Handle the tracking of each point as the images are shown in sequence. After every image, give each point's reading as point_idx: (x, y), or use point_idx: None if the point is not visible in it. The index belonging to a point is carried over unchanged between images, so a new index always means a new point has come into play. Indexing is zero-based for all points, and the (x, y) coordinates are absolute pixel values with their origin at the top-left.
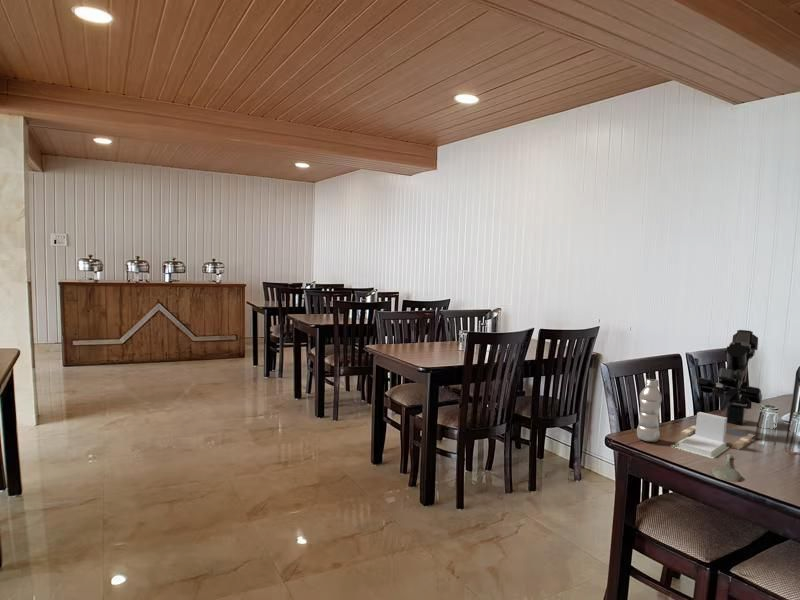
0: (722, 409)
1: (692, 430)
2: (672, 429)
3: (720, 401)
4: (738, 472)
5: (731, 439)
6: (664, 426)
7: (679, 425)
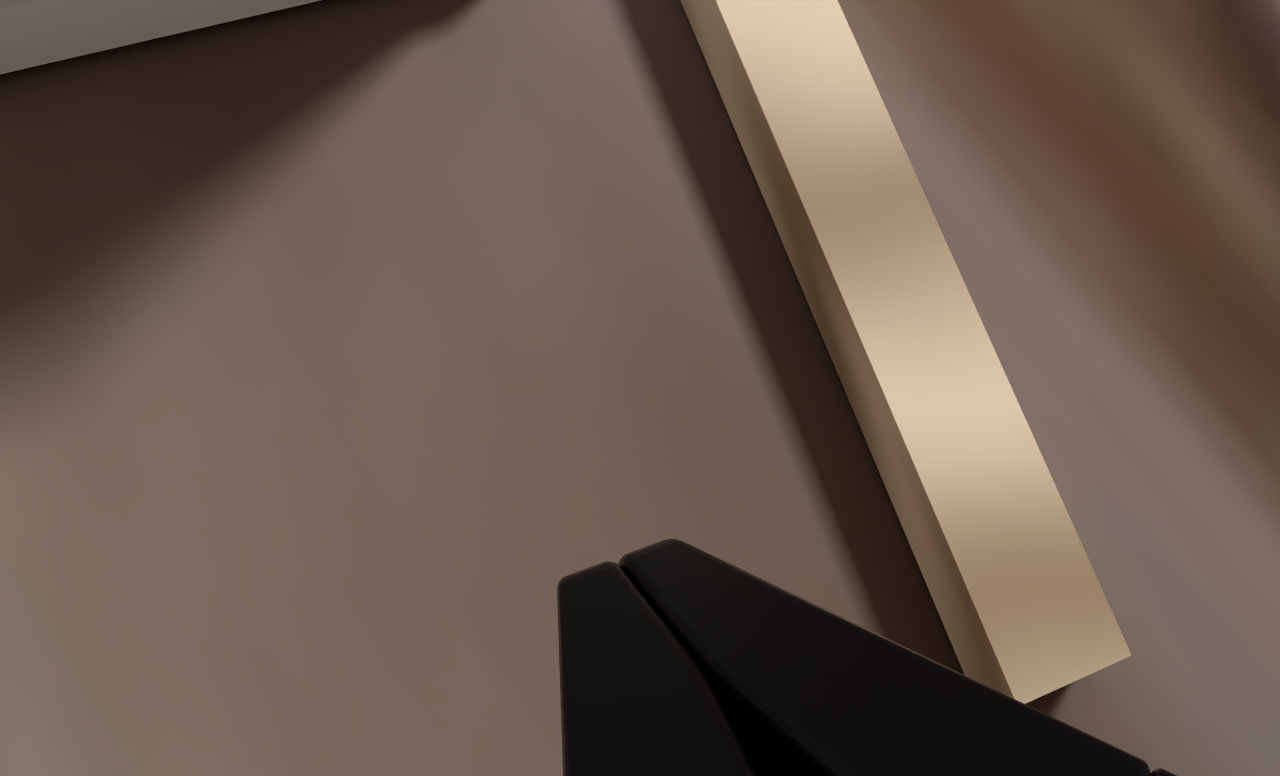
0: (566, 593)
1: (771, 128)
2: (1040, 50)
3: (948, 710)
4: None
5: (216, 730)
6: (1206, 69)
7: (1239, 430)
